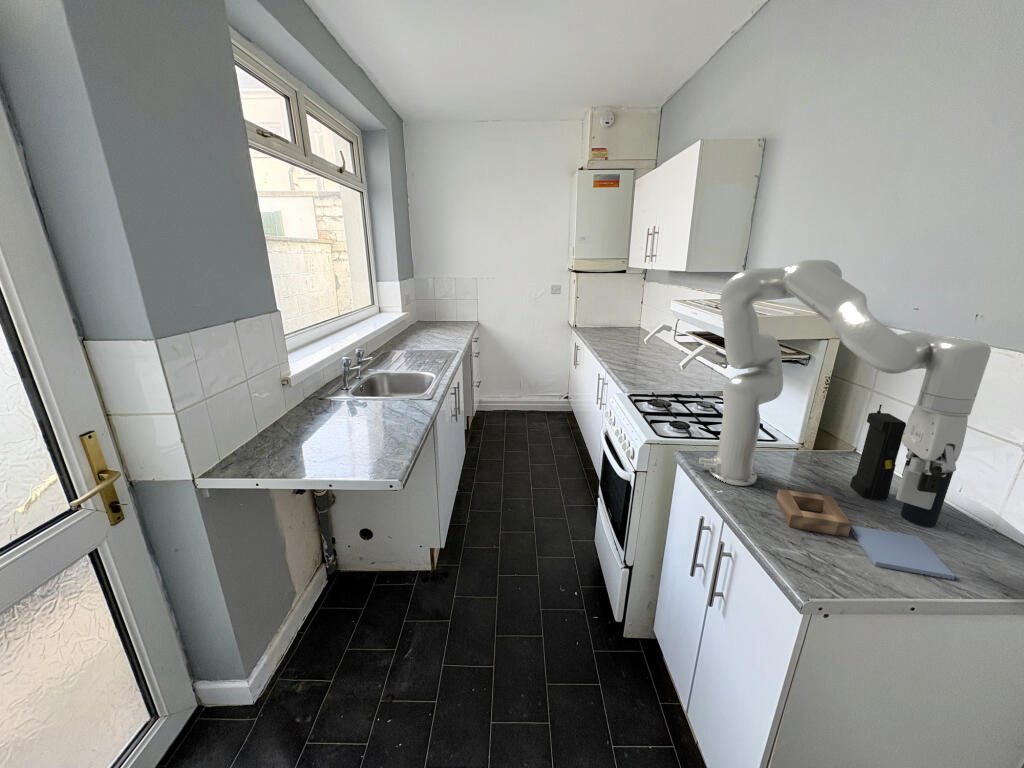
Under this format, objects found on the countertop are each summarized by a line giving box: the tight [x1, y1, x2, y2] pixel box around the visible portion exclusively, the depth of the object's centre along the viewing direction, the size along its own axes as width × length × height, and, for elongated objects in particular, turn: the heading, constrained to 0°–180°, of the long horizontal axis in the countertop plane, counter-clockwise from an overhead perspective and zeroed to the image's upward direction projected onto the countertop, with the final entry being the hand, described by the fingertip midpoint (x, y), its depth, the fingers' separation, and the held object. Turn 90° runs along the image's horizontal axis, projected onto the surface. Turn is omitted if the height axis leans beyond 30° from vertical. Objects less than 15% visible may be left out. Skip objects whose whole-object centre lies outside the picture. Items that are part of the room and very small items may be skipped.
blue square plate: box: [849, 525, 956, 581], centre depth 91 cm, size 13×13×1 cm
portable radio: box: [849, 404, 907, 501], centre depth 109 cm, size 8×6×25 cm
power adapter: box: [895, 457, 940, 509], centre depth 85 cm, size 3×5×12 cm, turn 42°
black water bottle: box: [900, 457, 954, 528], centre depth 97 cm, size 6×6×30 cm
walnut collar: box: [775, 488, 852, 538], centre depth 103 cm, size 12×12×4 cm
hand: (919, 483), depth 86 cm, fingers closed on power adapter, 4 cm apart
